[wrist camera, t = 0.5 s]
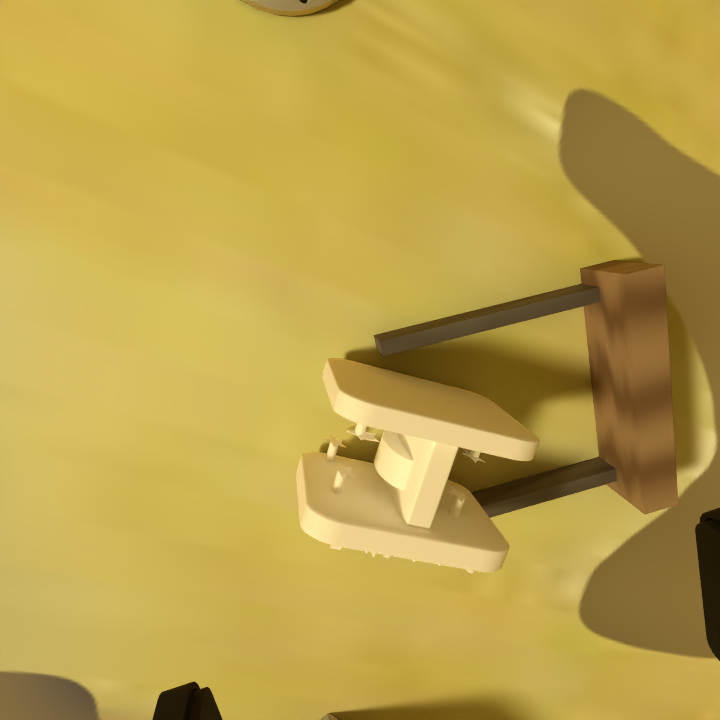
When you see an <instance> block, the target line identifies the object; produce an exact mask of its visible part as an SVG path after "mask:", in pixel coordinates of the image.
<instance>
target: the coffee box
mask: <svg viewBox="0 0 720 720" xmlns="http://www.w3.org/2000/svg"><path fill="white" fill-rule="evenodd" d="M322 720H338V719H337V718H336V717H334V716H333V715H331V714H327V715H326V716H325V717H324V718H323V719H322Z"/></svg>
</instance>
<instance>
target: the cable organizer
mask: <svg viewBox="0 0 720 720" xmlns="http://www.w3.org/2000/svg"><path fill="white" fill-rule="evenodd" d="M322 376H323V380H324V383H325V386H326V389H327V392H328V395H329V398H330V402H331V405H332V408H333V410H334V411H335V412H336V413H338V414H339V415H341V416H342V417H344V418H346V419H348V420H351V421H353V422H356V423H357V426H356V427H355V431H350V430H345V431H347V432H349V433H351V434H353V435H355V436H357V437H359V439H360V440H364V439H365V440H370V441H376V442H379V441H378V440H376V439H375V438H374V437H372V436H374V435H375V434H376V433H370V432H365V431H366V428H367V426H369V427H373V428H378V429H382V430H385V431H384V432H383V434H382V437H381V440H380V443H379V447H378V450H377V453H376V456H375V459H374V463H370V462H365V461H361V460H356V459H351V458H347V457H342V456H337V455H336V452H337V449H338V445H339V446H342V447H345V446H344V445H343V444H342V442H343V440H341V439H336V438H334V437H333V436H332V435H331V439H325V440H327V441H329V442H330V445H329V448H328V452H327V453H321V452H309V453H305V454H303V455H302V456H301V459H300V462H299V466H298V469H297V473H296V479H297V491H298V503H299V515H300V525H301V528H302V529H303V530H304V531H305V532H306V533H307V534H308V535H309V536H311V537H313V538H314V539H317V540H319V541H321V542H324V543H326V544H330V545H331V546H330V548H332V549H338V550H341V548H342V547H344V548H349V549H355V550H361V551H365V552H366V554H367V553H368V552H371V553H372V556H373V557H375V554H376V553H378V554H383V556H384V558H391V556H395V557H400V558H406V559H411V560H413V561H414V562H415V561H416V560H417V561H423V562H428V563H434V564H438V565H439V566H440V565H445V566H451V567H457V568H462V569H466V570H467V572H468V573H474V571H479V572H486V573H488V572H495V571H498V570H500V569H501V567H502V565H503V563H504V560H505V557H506V555H507V552H508V550H509V544H508V542H507V541H506V539H505V538H504V537H503V535H502V534H501V533H500V531H499V530H498V528H497V527H496V526H495V524H494V523H493V522H492V520H491V519H490V518H489V516H488V515H487V514H486V512H485V511H484V510H483V508H482V507H481V506H480V504H479V503H478V502H477V500H476V499H475V497H474V496H473V495H472V493H471V492H470V491H469V490H468V489H466V488H465V487H463V486H462V485H460V484H458V483H455V482H453V481H450V480H448V477H449V474H450V471H451V468H452V465H453V463H454V460H455V457H456V454H457V451H458V448H459V447H460V448H464V450H465V449H469V450H470V452H469V451H467V450H465V452H466V453H461V454H463V455H466V456H468V457H470V458H471V459H472V460H473V461H474V462H475V463H476V462H477V461H478V460H479V461H482V462H484V461H483V460H482V459H480V458H479V456H480V453H481V452H482V453H486V454H490V455H495V456H499V457H503V458H508V459H512V460H518V461H530V460H532V459H533V457H534V455H535V452H536V450H537V447H538V444H539V442H540V440H539V438H538V437H537V436H536V435H534V434H533V433H532V432H531V431H529V430H528V429H527V428H526V427H524V426H523V425H522V424H521V423H519V422H518V421H517V420H516V419H514V418H513V417H512V416H511V415H509V414H508V413H507V412H505V411H504V410H503V409H502V408H500V407H499V406H498V405H497V404H495V403H494V402H493V401H491V400H490V399H488V398H486V397H484V396H482V395H479V394H477V393H474V392H471V391H468V390H464V389H460V388H456V387H453V386H449V385H445V384H441V383H437V382H433V381H429V380H425V379H421V378H417V377H414V376H410V375H406V374H402V373H398V372H394V371H390V370H386V369H382V368H378V367H375V366H371V365H367V364H363V363H359V362H355V361H351V360H346V359H340V358H330V359H327V361H326V365H325V368H324V372H323V375H322ZM485 463H486V462H485Z"/></svg>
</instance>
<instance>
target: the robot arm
mask: <svg viewBox="0 0 720 720" xmlns="http://www.w3.org/2000/svg"><path fill="white" fill-rule="evenodd" d="M241 1H243V2H245V3H247V4H248V5H250V6H252V7H254V8H256V9H258V10H262V11H265V12H268V13H272V14H275V15H286V16H297V15H305V14H311V13H314V12H317V11H319V10H322V9H325V8H327V7H329V6H330V5H332V4H334V3H335V2H337V1H338V0H307V3H306V4H305V3H301V2H300V0H241ZM695 533H696V542H697V550H698V560H699V570H700V580H701V588H702V598H703V608H704V617H705V626H706V635H707V640H708V644H709V646H710V648H711V650H712V652H713V653H714V654H715V656H716V657H717V659H718V660H719V661H720V508H717V509H714V510H711V511H709V512H705V513H703V514H702V516H701V517H700V523H699V524H697V526H696V528H695ZM153 720H222V717H221V715H220V712H219V710H218V707H217V705H216V702H215V700H214V697H213V694H212V692H211V690H210V689H209V688H208V687H205V688H202V689H200V687H199V685H198V684H197V683H196V682H191V683H188V684H185V685H182V686H179V687H176V688H173V689H170V690H167V691H164V692H162V693H161V694H160V695H159V698H158V701H157V705H156V708H155V712H154V716H153Z"/></svg>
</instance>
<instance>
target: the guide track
mask: <svg viewBox="0 0 720 720" xmlns="http://www.w3.org/2000/svg"><path fill="white" fill-rule="evenodd" d="M580 272H581V282H582V284H579V285H575V286H571V287H567V288H563V289H559V290H555V291H551V292H547V293H543V294H539V295H535V296H531V297H527V298H523V299H519V300H515V301H511V302H507V303H503V304H499V305H494V306H490V307H486V308H482V309H478V310H474V311H470V312H466V313H462V314H458V315H454V316H450V317H446V318H442V319H438V320H434V321H430V322H426V323H422V324H418V325H414V326H410V327H406V328H402V329H398V330H393V331H389V332H385V333H381V334H377V335H374V338H375V342H376V347H377V350H378V351H379V352H380V354H381V355H382V356H387V355H391V354H395V353H399V352H403V351H407V350H411V349H415V348H419V347H423V346H427V345H431V344H435V343H439V342H443V341H447V340H451V339H455V338H459V337H463V336H467V335H471V334H475V333H479V332H483V331H487V330H491V329H495V328H499V327H503V326H506V325H510V324H514V323H518V322H522V321H526V320H530V319H534V318H538V317H542V316H546V315H550V314H554V313H558V312H562V311H566V310H570V309H574V308H578V307H582V306H584V311H585V321H586V331H587V341H588V351H589V361H590V371H591V380H592V390H593V400H594V410H595V420H596V430H597V439H598V449H599V457H598V458H594V459H591V460H587V461H583V462H580V463H576V464H573V465H569V466H566V467H562V468H559V469H555V470H551V471H548V472H544V473H541V474H537V475H534V476H530V477H527V478H523V479H519V480H516V481H512V482H509V483H505V484H502V485H498V486H495V487H491V488H487V489H484V490H480V491H477V492H473V493H472V495H473V496H474V497H475V499H476V500H477V502H478V503H479V504H480V506H481V507H482V508H483V510H484V511H485V512H486V514H487V515H488V516H489V518H490V517H494V516H497V515H501V514H504V513H508V512H511V511H515V510H518V509H521V508H525V507H528V506H532V505H535V504H539V503H542V502H546V501H549V500H553V499H556V498H560V497H563V496H567V495H570V494H574V493H577V492H581V491H584V490H588V489H591V488H595V487H598V486H602V485H605V484H606V485H607V486H609V487H610V488H611V489H613V490H614V491H615V492H617V493H618V494H619V495H620V496H622V497H623V498H624V499H626V500H627V501H628V502H629V503H631V504H632V505H633V506H635V507H636V508H637V509H639V510H640V511H641V512H642V513H644V514H648V513H652V512H655V511H658V510H662V509H665V508H668V507H672V506H675V505H678V492H677V475H676V458H675V441H674V424H673V407H672V390H671V373H670V356H669V339H668V322H667V305H666V288H665V272H664V265H658V264H647V263H636V262H626V261H615V260H613V261H609V262H605V263H601V264H597V265H593V266H589V267H584V268H580Z"/></svg>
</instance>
